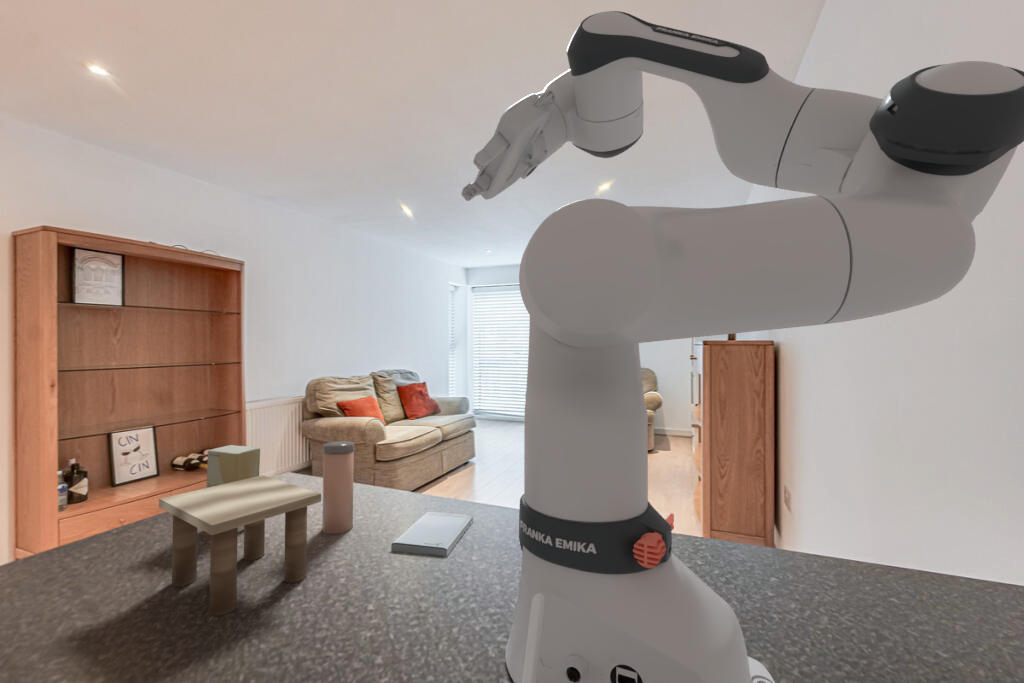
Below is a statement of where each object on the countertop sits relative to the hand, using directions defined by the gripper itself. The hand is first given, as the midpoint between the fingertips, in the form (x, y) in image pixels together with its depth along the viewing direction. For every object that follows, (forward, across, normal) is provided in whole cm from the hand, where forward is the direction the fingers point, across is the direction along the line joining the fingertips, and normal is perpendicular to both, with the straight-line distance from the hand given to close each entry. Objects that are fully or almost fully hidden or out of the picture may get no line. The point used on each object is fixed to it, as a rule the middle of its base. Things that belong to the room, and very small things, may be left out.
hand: (470, 180), depth 66 cm
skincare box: (+59, +23, -14) cm, 65 cm away
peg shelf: (+56, +5, -19) cm, 60 cm away
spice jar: (+48, +18, -25) cm, 57 cm away
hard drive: (+39, +12, -36) cm, 54 cm away
